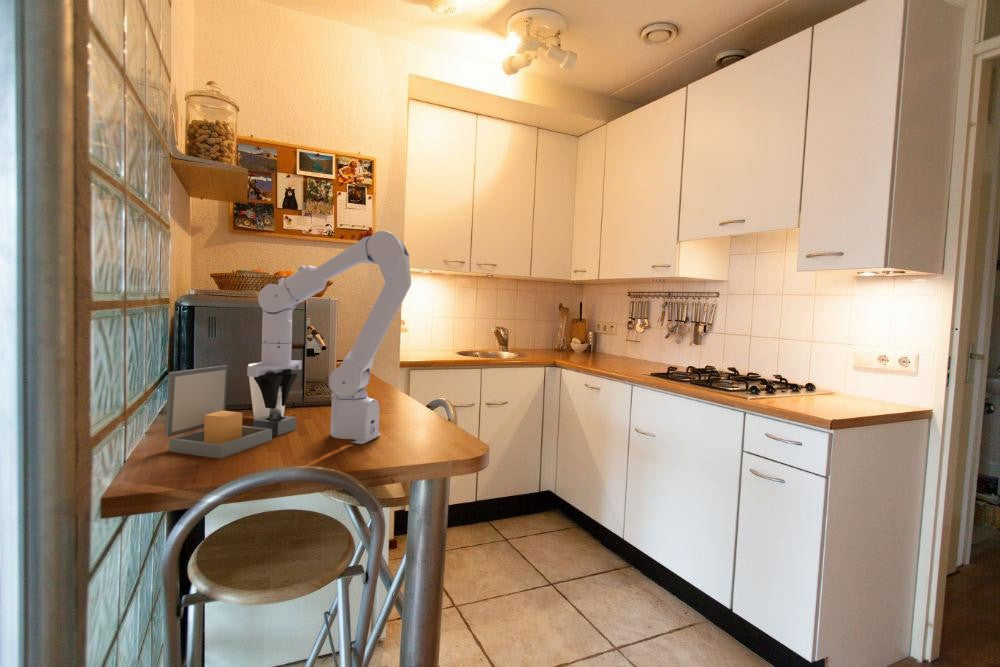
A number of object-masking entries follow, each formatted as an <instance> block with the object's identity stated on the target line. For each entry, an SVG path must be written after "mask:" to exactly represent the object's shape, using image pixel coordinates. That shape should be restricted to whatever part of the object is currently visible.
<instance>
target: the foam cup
mask: <svg viewBox="0 0 1000 667" xmlns="http://www.w3.org/2000/svg"><path fill="white" fill-rule="evenodd" d="M257 364H258V362H253V363H248V365H247V367H248V366H253V365H257ZM274 370H278V369H274ZM248 379H249V381H248V382H249V386H250V387H249V389H250V397H251V404H252V413H253V420H255V419H259V418H262V417H266V416H269V408H265V404H264V400H263V396H262V393H261V390H260V388H259V386H258V384H257V382H256V381H255V379H254V377H252V376H248ZM285 408H286V405H285V406H282V416H285V415H284V414H285Z"/></svg>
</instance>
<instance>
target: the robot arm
mask: <svg viewBox="0 0 1000 667" xmlns="http://www.w3.org/2000/svg"><path fill="white" fill-rule="evenodd" d="M408 251H409V250H408V249H407V248H406V245H405V244H404V242H403V241H402V239H400V238H398V237H397V236H395V235H394V234H393V233H392V232H390V231H387V230H379V231H376V232H375V233H373V234H371V235H370V236H366V237H363V238H361V239H360V240H358V241H357V242H356V243H354V244H352V245H350V246H349V247H348V248H346V249H344V250H343V251H341V252H340V253H337V254H336V255H335V256H333V257H331V258H330V259H328V260H327V261H326V262H325V261H324V263H322V264H321V265H319V266H318V267H317V266H314V265H309V264H308V265H307V266H305V265H301V266H298V267H297V271H296V272H295V273H293V274H290V275H289V276H287V277H285V278H284V277H281V278H279V279H277V282H278V283H277V284H276V283H267V284H265V286H263V287H262V288H261V289H260V291H259V293H258V296H257V301H258V302H257V303H258V304H259V307H260V308H261V309H262V323H261V324H262V325H261V326H262V327H261V361H259V362H257V363H258V364H257V365H253V366H248V365H247V369H246V370H247V372H246V373H247V374H246V376H247V377H249V376H252V377H254V379H255V381H256V382H257V384H258V386H259V388H260V390H261V393H262V396H263V400H264V404H265V408H271V409H274V408H276V405H277V398H278V391H279V387H280V385H282V406H285V407H286V404H287V400H288V396H289V394H290V390H291V387H292V386H293V384H294V382H295V380H296V379H297V377H298V371H297V372H296V371H295V370H302V369H303V365H302V364H303V361H302V360H296V359H293V360H292V347H293V345H292V344H293V343H292V340H293V339H292V338H293V311H294V310H295V309H296V308H297V305H298V304H301V303H302V302H304V301H307V299H310V298H311V297H313V296H315V295H317V294H319V293H320V292H322V291H323V290H325V289H326V286H327V283H328V280H331V279H333V278H335V277H336V276H338V275H340V274H343V273H344V272H346V271H348V270H350V269H352V268H353V267H354V268H355V267H356V266H357V265H360V264H377V266H378V267H379V270H380V272H381V274H382V276H383V279H384V284H383V287H382V289H381V291H380V292H379V294H378V297H377V299H376V301H375V303H374V304H373V306H372V308H371V311H370V313H369V315H367V316H368V317H367V318H366V320H365V322H364V324H363V326H362V328H361V330H360V332H359V334H358V336H357V338H356V340H355V342H354V344H353V345H352V348H351V349H350V351H349V352H348V353H347V355H346V356H345V357H344V358H343V360H342V362H341V364H340V365H339V366H338V367H337V368H336V369H334V370H333V371H332V372H331V374H330V375H329V379H328V388H329V389H330V391H331V392H332V393H331V413H330V415H331V416H330V420H331V421H330V436H331V437H332V438H335V439H340V440H341V439H343V440H344V439H345V440H352V441H350V442H349V444H355V445H357V444H358V445H364V444H366V443H368V442H370V441H372V440H374V439H377V438H378V437H380V436H381V433H380V430H379V429H380V404H379V401H378V400H377V399H376V398H371V397H369V396H368V392H367V390H366V387H367V386H368V385H369V383H370V380H371V369H372V368H373V365H374V361H375V357H376V356H377V355H376V354H377V352H378V350H379V349H380V347H381V345H382V343H383V341H384V339H385V337H386V335H387V333H388V331H389V330H390V327H391V325H392V324H393V321H394V319H395V317H396V315H397V314H398V312H399V309H400V307H401V305H402V303H403V302H404V300H405V298H406V297H407V294H408V292H409V290H410V288H411V286H412V285H411V284H412V276H411V267H410V265H411V264H410V253H409V252H408ZM274 369H278V370H274Z"/></svg>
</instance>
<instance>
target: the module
mask: <svg viewBox="0 0 1000 667" xmlns="http://www.w3.org/2000/svg"><path fill="white" fill-rule="evenodd" d="M242 426H243V412H238V411H230V410H225V411H219V412H215V413H211V414H207V415H205V417H204V428H203V430H204V442H208V443H216V444H223V443H226V442H229V441H232V440H235V439H238V438H241V437H242Z"/></svg>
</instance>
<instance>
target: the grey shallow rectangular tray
mask: <svg viewBox="0 0 1000 667" xmlns="http://www.w3.org/2000/svg"><path fill="white" fill-rule="evenodd" d="M168 441H169V442H168V444H169V445H168V452H170V453H177V454H184V455H186V454H187V455H191V456H192V455H193V456H199V457H206V458H212V459H213V458H214V459H221V460H222V459H224V458H226V457H228V456H229V457H230V456H232V455H235V454H237V453H240V452H243V451H246V450H249V449H252V448H254V447H258V446H260V445H263V444H266V443H268V442H272V441H273V436H272V429H267V428H258V427H253V426H250V425H249V426H248V425H242V437H241V438H238V439H235V440H232V441H229V442H226V443H223V444H216V443H208V442H204V429H201V430H198V431H192V432H191V433H190V432H189V433H186V434H183V435H182V434H181V435H178V436H175V437H173V438H172V437H171V438H168Z"/></svg>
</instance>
